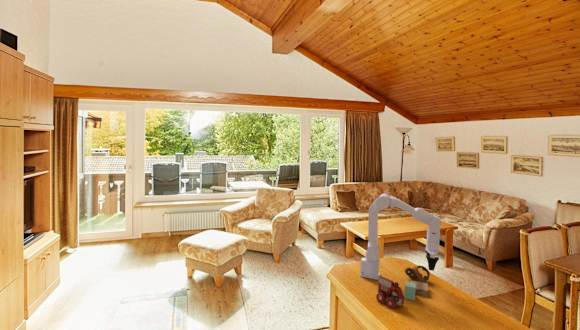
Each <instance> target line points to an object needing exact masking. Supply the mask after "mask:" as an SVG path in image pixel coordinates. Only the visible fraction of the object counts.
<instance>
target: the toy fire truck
mask: <svg viewBox="0 0 580 330" xmlns="http://www.w3.org/2000/svg"><path fill="white" fill-rule="evenodd" d="M377 282H378V287H377V294H376V300H377V301H378V303H380V304H383V303H385V302H386V305H387V307H388V308H390V309H394V308H395V307H396V305H398V306H401V307H402V306H403V305H404V302H405V298H404V293H403V290H402V288H401V286H400V285H399V282H397V281H393V280H391V279H390V278H387V277H385V276H383V275H380V276H379V277H378V280H377Z"/></svg>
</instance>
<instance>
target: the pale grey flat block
mask: <svg viewBox="0 0 580 330" xmlns="http://www.w3.org/2000/svg"><path fill="white" fill-rule="evenodd" d="M409 282H410V283H415V284H416V291H415V295H419V296H424V297H429V284H428V282H427V283H426V282H424V283H422V282H419V281H416V280H412V279H411V280H410V281H409Z"/></svg>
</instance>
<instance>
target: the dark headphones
mask: <svg viewBox="0 0 580 330" xmlns="http://www.w3.org/2000/svg"><path fill="white" fill-rule="evenodd" d="M419 269H421V270H422V271H424V272H426V275H424V276H423V274H422V273H421V272H420V271H419ZM404 273H405V275H406V276H408V277H409V278H410V279H412V275H413V276H417V277H418V278H419V279H420V280H419V281H418V282H422V283H426V282H428V281H429V280H430V276H431V272H430V270H429V269H428V268H426V267H425V266H423V265H417V266H414V267H412V268H411V267H406V268H405V269H404Z"/></svg>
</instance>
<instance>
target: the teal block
mask: <svg viewBox="0 0 580 330" xmlns="http://www.w3.org/2000/svg"><path fill="white" fill-rule="evenodd" d="M415 291H416V284H415V283H410V281H409V282H408V281H405V282H404V293H403V296H404V300H411V301H414V302H415V301H416V294H415Z"/></svg>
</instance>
